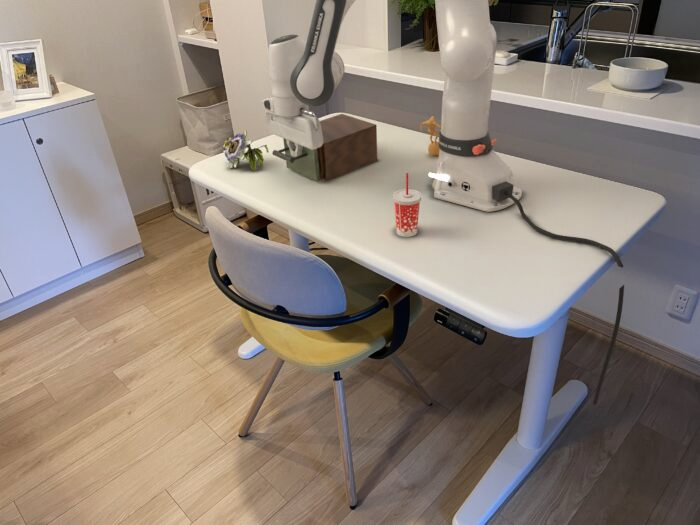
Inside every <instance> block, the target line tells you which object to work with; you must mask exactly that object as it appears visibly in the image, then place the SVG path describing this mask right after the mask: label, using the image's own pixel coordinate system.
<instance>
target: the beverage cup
mask: <svg viewBox="0 0 700 525" xmlns="http://www.w3.org/2000/svg"><path fill="white" fill-rule="evenodd" d="M405 174H406V175H405V176H406V177H405V188H404V189H399V190H396V191H394V193H392V200H393V202H394V215H395V216H394V217H395V229H396V234H397V235H398V236H400V237H405V238H411V237H413V236H416V235H417V234H418V226H419V217H420V216H419V215H420V214H419V213H420V204H421V201H422V193H421V192H420V191H419V190H416V189H410V188H409V173H408V172H406V173H405Z"/></svg>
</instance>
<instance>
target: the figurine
mask: <svg viewBox="0 0 700 525" xmlns="http://www.w3.org/2000/svg"><path fill="white" fill-rule="evenodd" d="M424 125H427V128H428V129H427V132H428V134H429V135H430V136H429V140H430V143H429V145H428V149H427V151H428V154H430V155H431V156H433V157H437V156H439V151H440V148H439V146H438V143H439V142H438V141H437V140H438V139H439V132H438V130H437V129H435V128H436V127H437V128H439V129H440V130H441V125H440V124H438V123H437V122H436V120H435V116H434V115H432V116H431V117H430V118H429V119H427V120H425V121H423V122H421V123H420V127H419V128H420V129H419V130H420V131H422V130H423V126H424ZM433 135H434V136H435V137H434V140H433Z"/></svg>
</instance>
